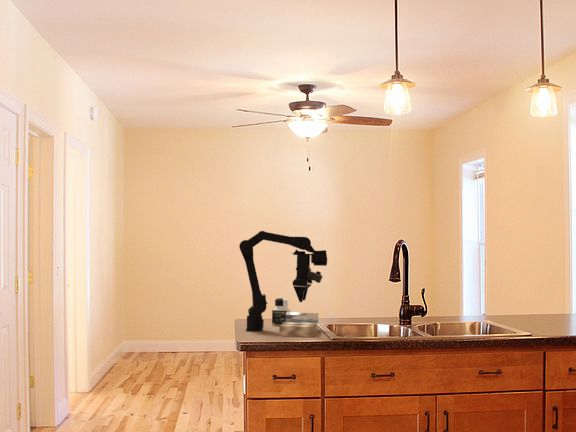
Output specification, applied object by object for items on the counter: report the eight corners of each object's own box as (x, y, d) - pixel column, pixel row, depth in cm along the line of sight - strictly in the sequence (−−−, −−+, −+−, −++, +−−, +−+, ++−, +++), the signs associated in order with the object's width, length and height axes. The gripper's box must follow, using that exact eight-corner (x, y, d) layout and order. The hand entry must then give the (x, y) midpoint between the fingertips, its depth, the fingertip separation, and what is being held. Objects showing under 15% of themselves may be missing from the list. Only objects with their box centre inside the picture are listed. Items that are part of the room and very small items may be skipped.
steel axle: (285, 322, 297) (285, 312, 297) (287, 321, 301) (287, 311, 301) (317, 324, 294) (317, 313, 294) (318, 322, 299) (318, 312, 299)
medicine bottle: (271, 325, 313) (272, 298, 313) (275, 323, 320) (276, 297, 320) (286, 325, 311) (287, 299, 312) (290, 323, 318) (290, 298, 319)
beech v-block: (279, 335, 281) (279, 325, 282) (283, 331, 292) (283, 322, 292) (313, 336, 279) (313, 326, 279) (316, 332, 290) (316, 323, 290)
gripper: (318, 266, 288) (318, 304, 287) (323, 265, 306) (323, 300, 306) (292, 266, 289) (292, 303, 289) (299, 264, 308) (298, 299, 307)
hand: (302, 301), depth 298 cm, fingers open, 9 cm apart
